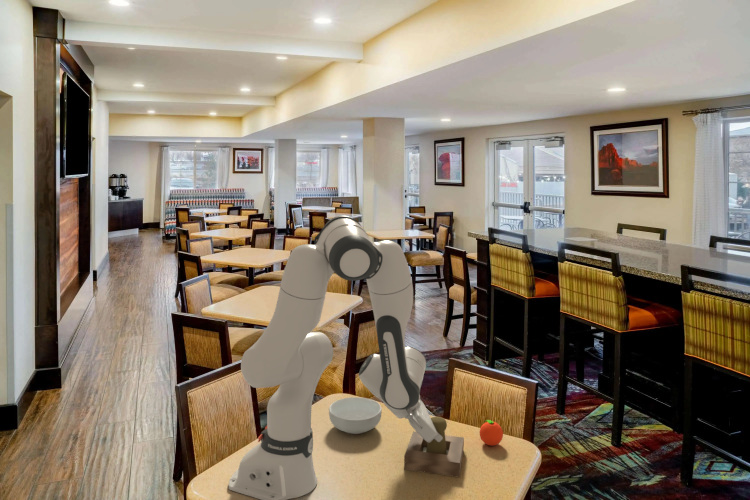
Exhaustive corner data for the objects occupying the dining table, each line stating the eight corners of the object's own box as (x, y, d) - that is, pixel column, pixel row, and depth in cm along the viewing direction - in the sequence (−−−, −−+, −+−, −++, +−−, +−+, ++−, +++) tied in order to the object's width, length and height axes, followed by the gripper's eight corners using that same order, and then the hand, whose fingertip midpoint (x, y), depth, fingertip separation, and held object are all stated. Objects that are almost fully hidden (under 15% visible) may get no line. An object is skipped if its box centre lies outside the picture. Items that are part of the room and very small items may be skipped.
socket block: (404, 469, 148) (404, 455, 148) (412, 444, 163) (413, 431, 162) (459, 477, 145) (459, 463, 144) (463, 450, 159) (463, 437, 159)
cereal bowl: (324, 419, 178) (324, 399, 178) (373, 414, 183) (373, 394, 182) (334, 444, 162) (334, 421, 161) (387, 437, 167) (388, 415, 166)
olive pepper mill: (446, 462, 150) (447, 424, 148) (424, 459, 151) (425, 422, 150) (447, 451, 156) (449, 415, 154) (426, 449, 157) (427, 413, 155)
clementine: (473, 439, 167) (474, 416, 166) (493, 436, 169) (494, 414, 168) (486, 451, 159) (487, 428, 158) (507, 448, 161) (508, 425, 160)
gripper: (419, 409, 140) (455, 444, 143) (407, 380, 161) (438, 411, 163) (401, 426, 140) (438, 460, 143) (391, 395, 161) (423, 426, 163)
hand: (438, 434), depth 153 cm, fingers open, 5 cm apart
